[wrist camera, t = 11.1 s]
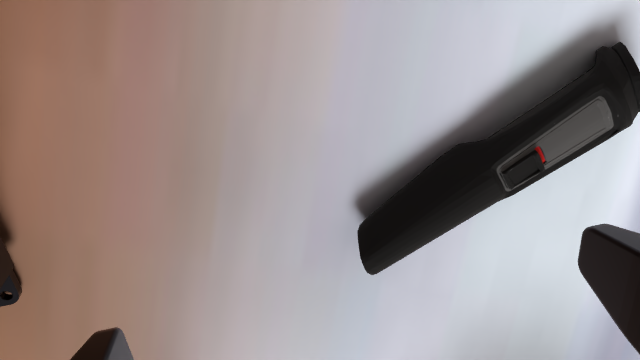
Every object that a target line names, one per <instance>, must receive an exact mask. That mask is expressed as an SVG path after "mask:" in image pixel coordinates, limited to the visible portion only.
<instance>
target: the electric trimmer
mask: <svg viewBox="0 0 640 360" xmlns="http://www.w3.org/2000/svg"><path fill="white" fill-rule="evenodd" d="M596 56H597V60H596V63H595V66H594V67H593V68H592V69H591V70H589V71H588V72H587V73H585V74H584V75H582V76H581V77H579V78H578V79H576V80H575V81H573V82H572V83H570V84H569V85H567V86H566V87H564V88H563V89H561V90H560V91H558V92H557V93H555V94H554V95H552V96H551V97H549V98H548V99H547V100H545V101H544V102H542V103H541V104H539V105H538V106H536V107H535V108H533V109H532V110H530V111H529V112H527V113H526V114H524V115H523V116H521V117H520V118H518V119H517V120H515V121H514V122H512V123H511V124H509V125H508V126H506V127H505V128H503V129H502V130H500V131H499V132H497V133H496V134H494V135H493V136H491V137H490V138H488V139H487V140H483V141H478V142H469V143H461V144H458V145H456V146H455V147H453V148H452V149H451V150H449V151H448V152H447V153H445V154H444V155H443V156H441V157H440V158H439V159H438V160H436V161H435V162H434V163H433V164H432V165H430V166H429V167H428V168H427V169H426V170H424V171H423V172H422V173H421V174H420V175H418V176H417V177H416V178H415V179H414V180H412V181H411V182H410V183H409V184H408V185H406V186H405V187H404V188H403V189H402V190H400V191H399V192H398V193H397V194H396V195H394V196H393V197H392V198H391V199H390V200H388V201H387V202H386V203H385V204H384V205H382V206H381V207H380V208H379V209H378V210H376V211H375V212H374V213H373V214H372V215H370V216H369V217H368V218H367V219H366V220H364V221H363V222H362V224H361V225H360V226H359V229H358V243H359V251H360V257H361V260H362V263H363V266H364V268H365V270H366V271H367V273H369V274H371V275H374V274H377V273H379V272H380V271H382V270H384V269H386V268H387V267H389V266H391V265H392V264H394V263H396V262H397V261H399V260H401V259H402V258H404V257H406V256H407V255H409V254H411V253H412V252H414V251H416V250H417V249H419V248H421V247H422V246H424V245H426V244H427V243H429V242H431V241H433V240H434V239H436V238H438V237H439V236H441V235H443V234H444V233H446V232H448V231H449V230H451V229H453V228H454V227H456V226H458V225H459V224H461V223H463V222H464V221H466V220H468V219H469V218H471V217H473V216H474V215H476V214H478V213H479V212H481V211H483V210H485V209H486V208H488V207H490V206H491V205H493V204H495V203H496V202H498V201H500V200H503V199H505V198H507V197H510V196H512V195H514V194H516V193H517V192H519V191H521V190H523V189H524V188H526V187H528V186H529V185H531V184H533V183H535V182H536V181H538V180H540V179H541V178H543V177H545V176H546V175H548V174H550V173H552V172H553V171H555V170H557V169H558V168H560V167H562V166H564V165H565V164H567V163H569V162H570V161H572V160H574V159H575V158H577V157H579V156H581V155H582V154H584V153H586V152H587V151H589V150H591V149H593V148H594V147H596V146H598V145H599V144H601V143H603V142H604V141H606V140H608V139H609V138H611V137H613V136H614V135H616V134H617V133H619V132H621V131H622V130H624V129H626V128H628V127H629V126H631V125H632V123H633V120H634V118H635V117H636V115H637V114H638V112H640V72H639V69H638V67H637V65H636V63H635V61H634V59H633V58H632V56H631V54H630V53H629V51H628V50H627V48H626V46H625V45H624V44H623V43H621V42H619V43H617V44H616V45H614V46H613V47H612V48H607V47H604V46H602V47H601V48H600V49H598V50H597V51H596Z"/></svg>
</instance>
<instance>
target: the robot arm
mask: <svg viewBox="0 0 640 360" xmlns="http://www.w3.org/2000/svg"><path fill="white" fill-rule="evenodd" d="M578 266H579V269H580V272H581V273H582V275H583V277H584V278H585V279H586V281H587V282H588V284H589V285H590V287H591V288H592V290H593V291H594V293H595V294H596V295H597V297H598V298H599V300H600V301H601V303H602V304H603V306H604V307H605V309H606V310H607V312H608V313H609V314H610V316H611V317H612V319H613V320H614V322H615V323H616V325H617V326H618V327H619V329H620V330H621V332H622V333H623V334H624V336H625V337H626V338H627V340H628V341H629V342H630V343H631V345H632V346H633V347H634V348H635V349H636V351H637V352H638V353H639V354H640V234H639V233H636V232H633V231H629V230H626V229H623V228H619V227H616V226H613V225H609V224H600V225H595V226H591V227H588V228H586V229H585V230H584V231H583V234H582V239H581V245H580V251H579V257H578ZM13 267H14V264H13V262H12V260H11V258H10V255H9V253H8V251H7V249H6V247H5V245H4V243H3V241H2V239H1V237H0V307H1V306H6V305H11V304H13V303H15V302H17V301H18V299H19V297H20V295H21V293H22V288H21V286H20V284H19V282H18V280H17V278H16V275H15V273H14V271H13ZM4 291H8V292H11V293H12V294H6V293H5V292H4ZM70 360H134V359H133V356H132V354H131V351H130V349H129V346H128V343H127V341H126V338H125V336H124V333H123V331H122V330H121V329H120V328H117V327H115V328H111V329H106V330H101V331H98V332H95V333H94V334H93V335H92V336H91V337H90V338H89V339H88V340H87V341H86V343H85V344H84V345H83V346H82V347H81V348H80V349H79V350H78V351H77V353H76V354H75V355H74V356H73V357H72V358H71V359H70Z"/></svg>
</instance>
